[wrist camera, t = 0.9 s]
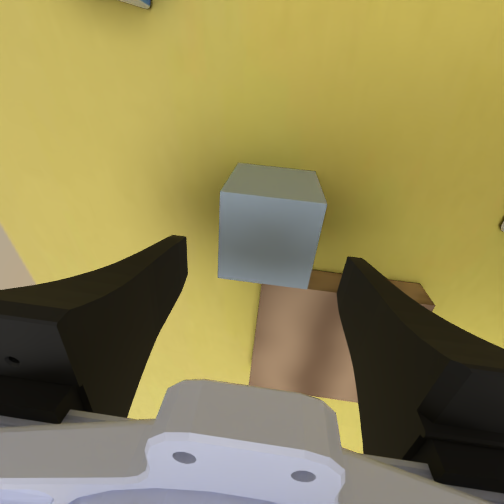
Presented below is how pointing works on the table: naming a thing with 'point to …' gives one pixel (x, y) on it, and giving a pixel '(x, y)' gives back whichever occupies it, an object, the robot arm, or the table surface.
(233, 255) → the slate block
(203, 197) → the table surface
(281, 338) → the walnut base
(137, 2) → the medicine box
